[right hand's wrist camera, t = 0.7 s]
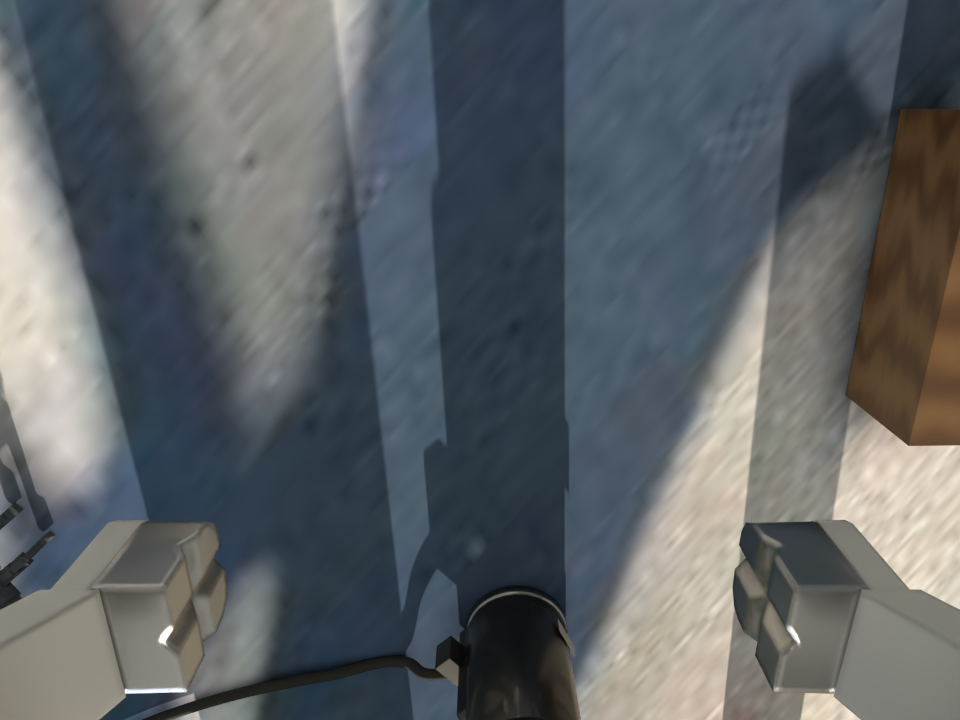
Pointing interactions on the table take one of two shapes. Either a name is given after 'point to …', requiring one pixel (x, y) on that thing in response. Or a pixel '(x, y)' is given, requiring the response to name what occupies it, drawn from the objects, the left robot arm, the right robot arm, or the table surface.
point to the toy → (16, 561)
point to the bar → (915, 288)
